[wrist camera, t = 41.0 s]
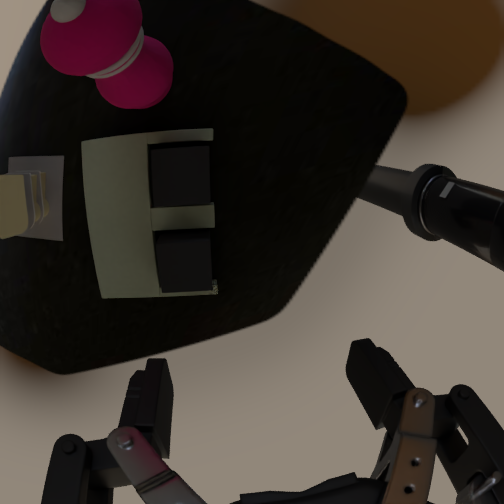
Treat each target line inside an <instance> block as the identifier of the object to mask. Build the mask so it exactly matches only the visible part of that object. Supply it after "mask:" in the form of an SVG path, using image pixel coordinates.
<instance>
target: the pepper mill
mask: <svg viewBox="0 0 504 504" xmlns="http://www.w3.org/2000/svg"><path fill="white" fill-rule="evenodd" d="M141 24H142V11H141V7H140V4H139V1H138V0H54V2H53V3H52V6H51V10H50V13H49V15H48V16H47V18H46V20H45V22H44V24H43V28H42V31H41V39H40V44H41V50H42V52H43V55H44V57H45V59H46V61H47V62H48V63H49V64H50V65H51V66H52V67H53V68H55V69H56V70H58V71H59V72H62V73H65V74H68V75H76V76H83V75H86V76H88V77H91V78H95V82H96V85H97V88H98V90H99V92H100V94H101V95H102V96H103V97H104V98H105V99H106V100H107V101H108V102H110V103H111V104H113V105H115V106H117V107H120V108H126V109H132V108H135V109H145V108H149V107H151V106H154V105H156V104H157V103H159V102H160V101H161V100H162V99H163V98H164V97H165V96H166V95H167V93H168V92H169V90H170V88H171V85H172V79H173V76H172V74H173V61H172V57H171V55H170V53H169V51H168V50H167V48H166V47H165V46H164V45H163V44H162V43H161V42H160V41H158V40H156V39H154V38H151V37H148V36H145V35H144V32H143V28H142V26H141Z"/></svg>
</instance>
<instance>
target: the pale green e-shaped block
mask: <svg viewBox="0 0 504 504" xmlns="http://www.w3.org/2000/svg"><path fill="white" fill-rule="evenodd" d="M212 140H213V129H187V130H171V131H159V132H148V133H138V134H129V135H121V136H114V137H107V138H100V139H94V140H88V141H82V167H83V181H84V193H85V203H86V211H87V219H88V227H89V233H90V240H91V246H92V252H93V257H94V263H95V268H96V273H97V278H98V282H99V287H100V291H101V295H102V298H133V297H160V296H161V297H165V296H189V295H209V294H218V290H217V280H216V279H215V280H213V291H195V292H176V293H162V290H161V283H160V276H159V269H158V261H157V253H156V237H155V231H156V230H174V229H193V228H214V227H215V218H214V202H211V203H210V204H193V205H177V206H162V207H154V206H153V202H152V186H151V164H150V144H159V143H173V142H190V141H212Z"/></svg>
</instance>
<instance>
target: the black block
mask: <svg viewBox="0 0 504 504" xmlns="http://www.w3.org/2000/svg"><path fill="white" fill-rule="evenodd" d="M156 253H157V261H158V269H159V276H160V283H161V290H162V293H176V292H195V291H213V279H212V262H211V243H210V230H195V231H177V232H162V233H161V234H160V236H159V238H158V240H157V242H156Z"/></svg>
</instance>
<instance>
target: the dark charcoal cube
mask: <svg viewBox="0 0 504 504" xmlns="http://www.w3.org/2000/svg"><path fill="white" fill-rule="evenodd" d="M151 172H152V189H153V203H154V207H162V206H177V205H193V204H210V203H211V195H210V159H209V146H194V147H178V148H165V149H154V150H151Z"/></svg>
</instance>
